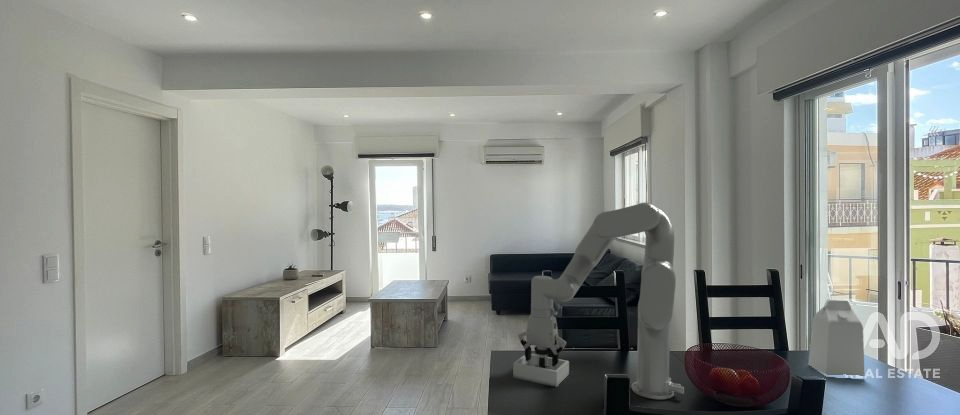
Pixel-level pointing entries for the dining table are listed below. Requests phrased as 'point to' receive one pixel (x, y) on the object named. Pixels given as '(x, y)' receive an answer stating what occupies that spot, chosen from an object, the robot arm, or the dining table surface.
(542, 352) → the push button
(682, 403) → the dining table surface
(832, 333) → the milk
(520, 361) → the bin
